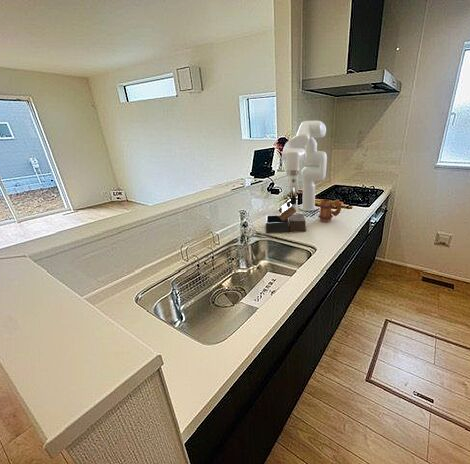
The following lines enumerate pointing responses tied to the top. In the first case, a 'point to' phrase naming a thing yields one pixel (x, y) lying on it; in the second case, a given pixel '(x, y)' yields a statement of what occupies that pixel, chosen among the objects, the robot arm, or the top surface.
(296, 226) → the stand
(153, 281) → the top surface
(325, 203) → the mug
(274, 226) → the basket
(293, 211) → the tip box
